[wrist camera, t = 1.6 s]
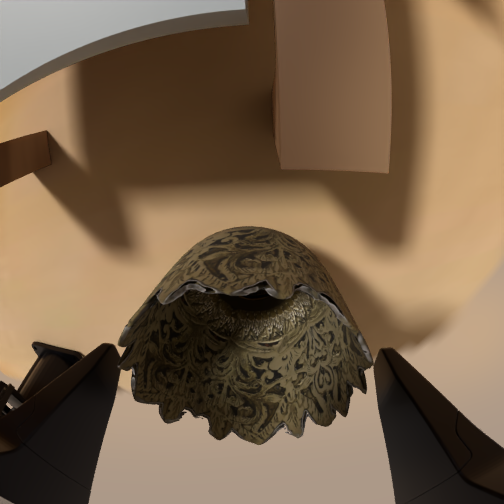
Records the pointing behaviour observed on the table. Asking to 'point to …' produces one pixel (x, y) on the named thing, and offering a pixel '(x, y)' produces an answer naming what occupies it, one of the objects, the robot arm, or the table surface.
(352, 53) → the frame
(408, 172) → the table surface
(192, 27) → the trapdoor
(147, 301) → the brass rounded piece
